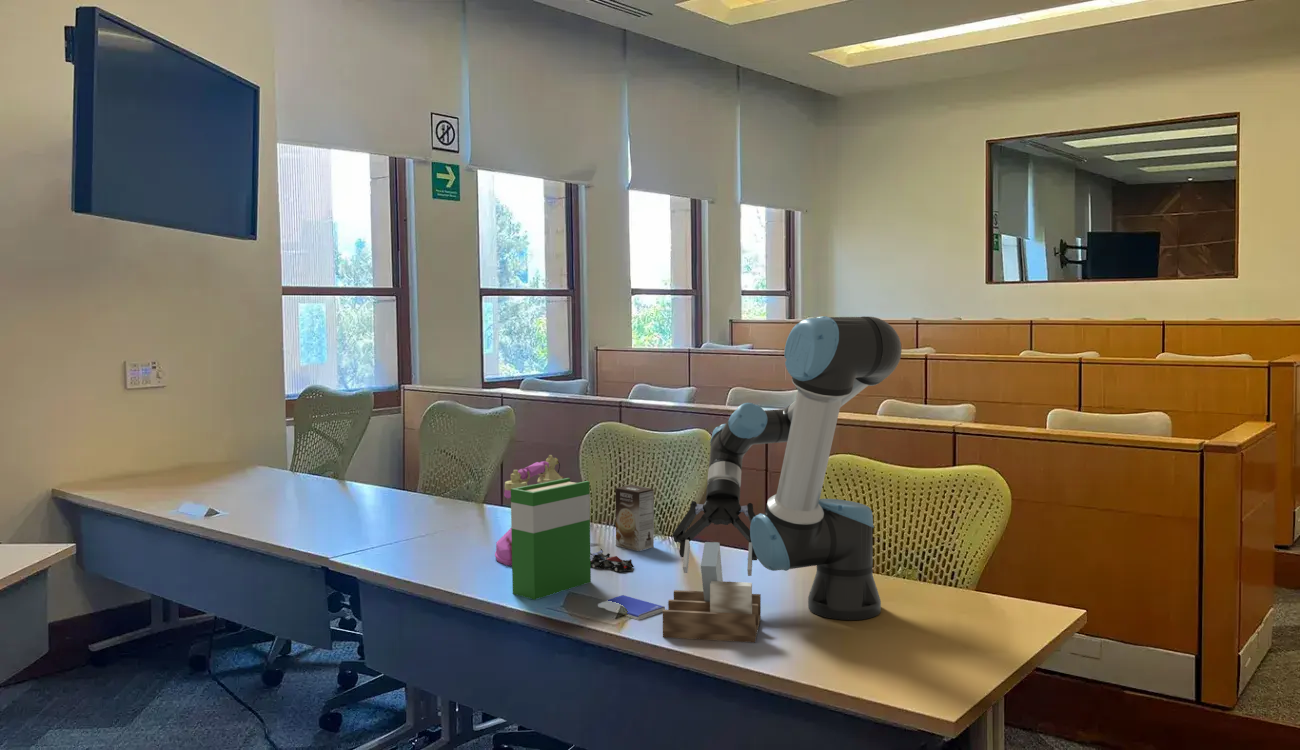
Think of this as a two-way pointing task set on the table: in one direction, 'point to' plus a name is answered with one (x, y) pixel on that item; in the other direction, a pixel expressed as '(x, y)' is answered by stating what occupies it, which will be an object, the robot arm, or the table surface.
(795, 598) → the table surface
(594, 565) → the toy car
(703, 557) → the grey upright pillar
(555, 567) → the hardback book
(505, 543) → the telephone
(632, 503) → the coffee box
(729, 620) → the rack
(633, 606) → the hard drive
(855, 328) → the robot arm
